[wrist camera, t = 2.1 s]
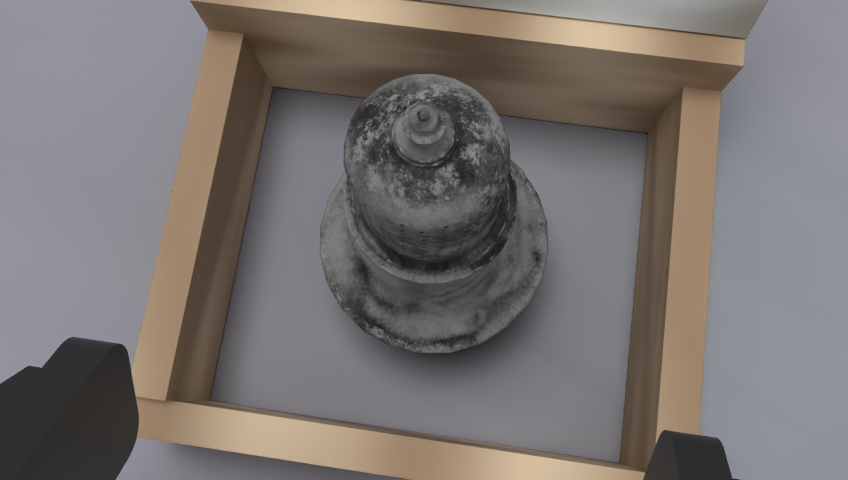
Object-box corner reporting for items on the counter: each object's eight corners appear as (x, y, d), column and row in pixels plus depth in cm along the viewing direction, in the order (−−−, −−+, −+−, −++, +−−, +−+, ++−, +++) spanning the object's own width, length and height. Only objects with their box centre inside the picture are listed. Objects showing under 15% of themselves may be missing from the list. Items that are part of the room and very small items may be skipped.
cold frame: (169, 430, 22) (-691, 522, 5) (268, -39, 25) (-77, -887, 8) (652, 504, 21) (1411, 888, 4) (690, 9, 24) (1211, -828, 8)
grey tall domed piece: (455, 401, 21) (466, 404, 10) (299, 282, 22) (138, 152, 11) (571, 244, 22) (707, 71, 11) (417, 134, 23) (387, -135, 12)
